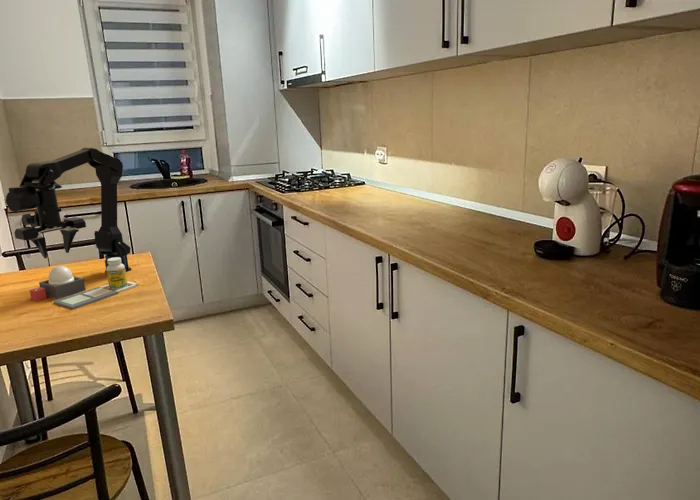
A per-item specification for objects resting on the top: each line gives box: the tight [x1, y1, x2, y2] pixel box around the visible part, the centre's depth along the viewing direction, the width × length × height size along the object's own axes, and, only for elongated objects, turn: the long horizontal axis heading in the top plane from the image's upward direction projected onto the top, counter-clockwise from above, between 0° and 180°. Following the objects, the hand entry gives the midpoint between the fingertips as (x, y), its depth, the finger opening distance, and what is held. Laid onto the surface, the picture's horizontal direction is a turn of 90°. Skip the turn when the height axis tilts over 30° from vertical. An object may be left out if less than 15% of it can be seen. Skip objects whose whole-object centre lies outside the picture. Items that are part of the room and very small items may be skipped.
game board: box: [53, 280, 140, 310], centre depth 157 cm, size 22×10×1 cm, turn 148°
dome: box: [48, 265, 74, 286], centre depth 159 cm, size 7×7×6 cm
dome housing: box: [29, 275, 87, 302], centre depth 158 cm, size 13×9×4 cm
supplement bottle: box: [105, 257, 129, 291], centre depth 162 cm, size 5×5×10 cm
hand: (56, 255), depth 157 cm, fingers open, 6 cm apart
